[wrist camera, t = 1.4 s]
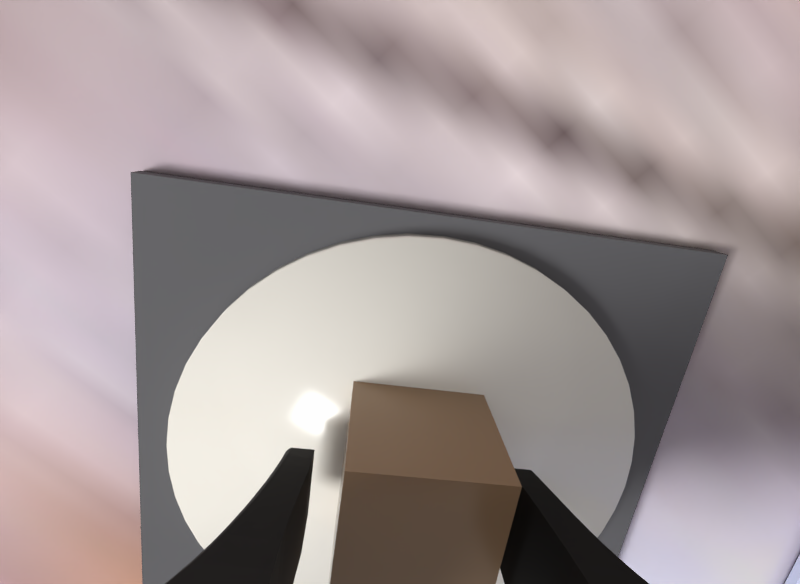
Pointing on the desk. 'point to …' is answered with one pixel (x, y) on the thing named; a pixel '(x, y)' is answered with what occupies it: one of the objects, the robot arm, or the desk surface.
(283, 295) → the lid
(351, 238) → the mat
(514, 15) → the desk surface
